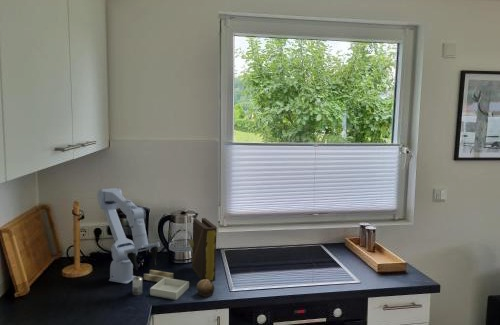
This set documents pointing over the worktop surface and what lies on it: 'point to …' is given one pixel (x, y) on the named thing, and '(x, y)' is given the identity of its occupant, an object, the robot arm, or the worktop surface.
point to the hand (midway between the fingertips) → (145, 268)
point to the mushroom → (205, 287)
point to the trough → (157, 275)
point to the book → (204, 249)
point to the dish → (169, 288)
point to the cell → (137, 285)
